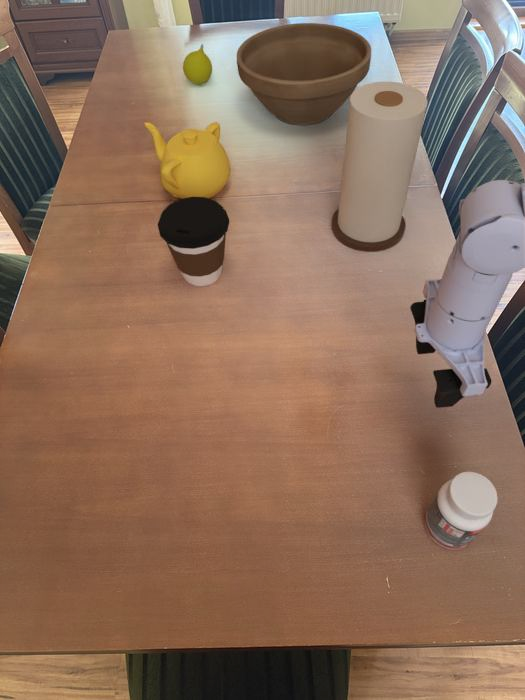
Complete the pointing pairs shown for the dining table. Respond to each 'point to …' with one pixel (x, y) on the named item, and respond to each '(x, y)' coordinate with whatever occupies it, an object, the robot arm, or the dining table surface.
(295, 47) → the flower pot
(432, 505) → the pill bottle
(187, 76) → the yellow-green pear
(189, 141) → the teapot
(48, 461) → the dining table surface
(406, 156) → the paper towel roll
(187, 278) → the coffee cup
